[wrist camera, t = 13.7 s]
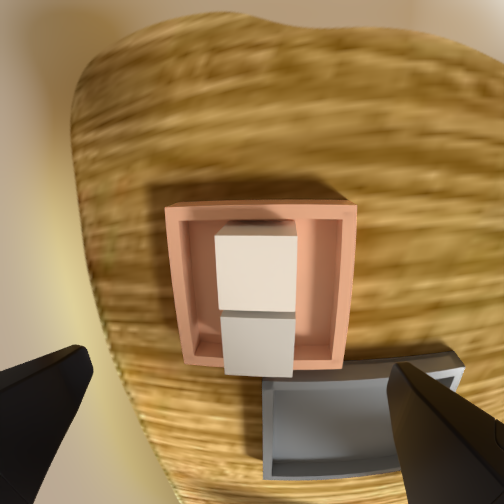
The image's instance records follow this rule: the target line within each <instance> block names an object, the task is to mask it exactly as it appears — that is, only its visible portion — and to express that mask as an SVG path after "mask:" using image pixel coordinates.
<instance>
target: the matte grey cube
mask: <svg viewBox="0 0 504 504" xmlns="http://www.w3.org/2000/svg"><path fill="white" fill-rule="evenodd" d="M220 319H221V333H222V345H223V357H224V369H225V374H226V375H241V376H260V377H292V375H293V360H294V343H295V324H296V314H295V312H274V311H240V310H223V312H222V314H221V316H220Z"/></svg>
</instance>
